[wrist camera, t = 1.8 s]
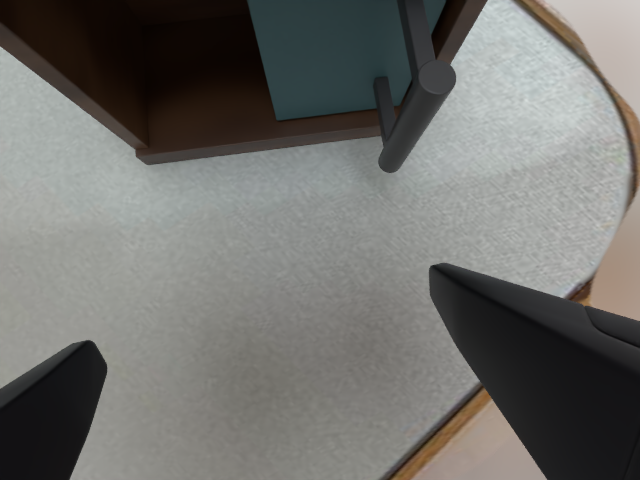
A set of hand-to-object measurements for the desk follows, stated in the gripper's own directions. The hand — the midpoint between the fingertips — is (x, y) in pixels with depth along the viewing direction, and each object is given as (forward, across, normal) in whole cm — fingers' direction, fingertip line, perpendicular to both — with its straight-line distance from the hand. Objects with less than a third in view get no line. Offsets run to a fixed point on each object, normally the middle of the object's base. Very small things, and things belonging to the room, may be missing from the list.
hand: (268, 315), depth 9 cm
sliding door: (+15, -5, -2) cm, 16 cm away
